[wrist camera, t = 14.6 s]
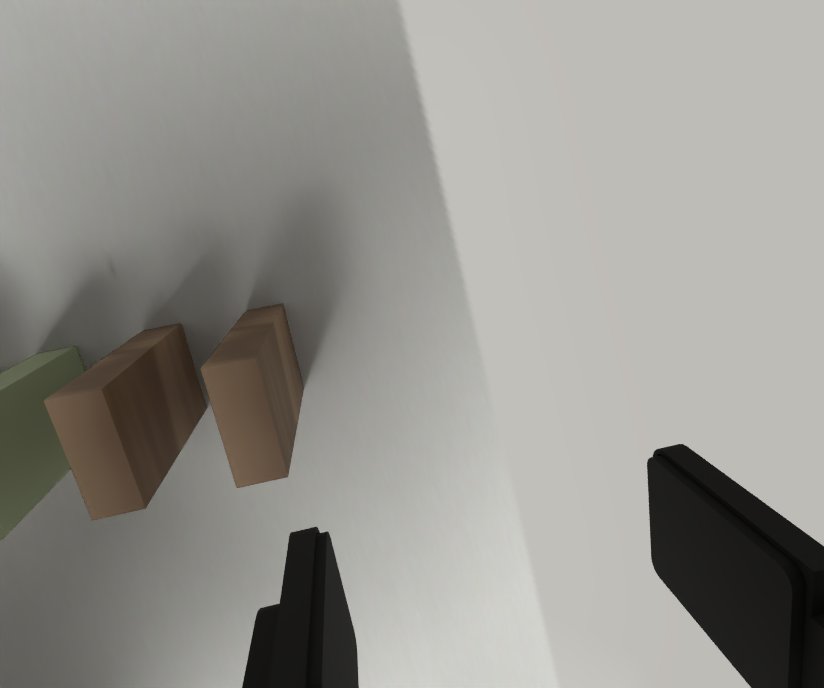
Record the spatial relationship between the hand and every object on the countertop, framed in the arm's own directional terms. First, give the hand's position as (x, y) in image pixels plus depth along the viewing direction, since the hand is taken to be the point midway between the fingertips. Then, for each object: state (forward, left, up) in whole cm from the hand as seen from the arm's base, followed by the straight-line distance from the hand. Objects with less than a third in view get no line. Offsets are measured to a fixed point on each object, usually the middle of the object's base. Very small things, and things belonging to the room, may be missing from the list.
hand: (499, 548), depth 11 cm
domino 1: (-13, 0, -20) cm, 23 cm away
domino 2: (-7, 0, -20) cm, 21 cm away
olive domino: (-18, 0, -20) cm, 27 cm away
